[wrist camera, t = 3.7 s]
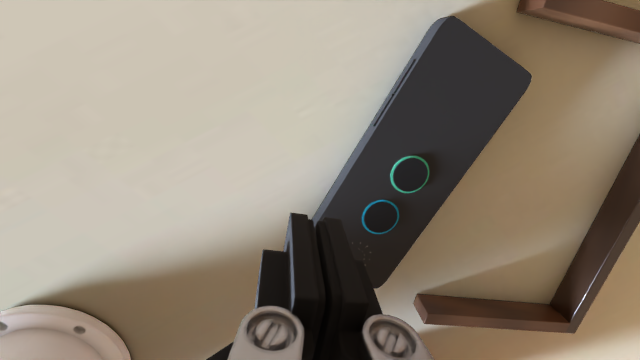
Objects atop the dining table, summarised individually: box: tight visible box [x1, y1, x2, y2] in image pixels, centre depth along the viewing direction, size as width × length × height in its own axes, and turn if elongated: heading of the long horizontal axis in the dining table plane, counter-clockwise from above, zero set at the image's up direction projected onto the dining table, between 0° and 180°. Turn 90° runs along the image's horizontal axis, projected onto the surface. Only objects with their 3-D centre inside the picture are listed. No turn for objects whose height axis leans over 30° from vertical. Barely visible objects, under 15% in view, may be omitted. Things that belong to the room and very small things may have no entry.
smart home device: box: [312, 16, 532, 288], centre depth 25 cm, size 8×2×20 cm
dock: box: [414, 0, 640, 333], centre depth 27 cm, size 16×26×2 cm, turn 169°
